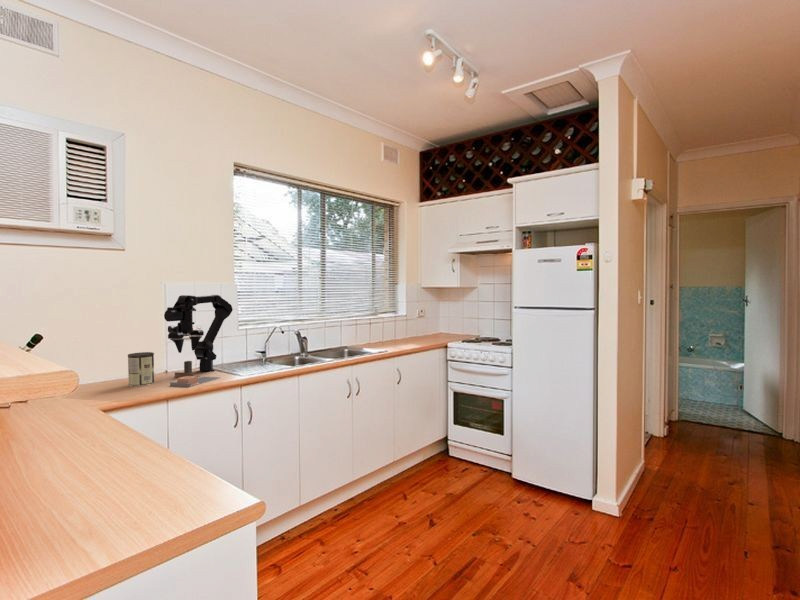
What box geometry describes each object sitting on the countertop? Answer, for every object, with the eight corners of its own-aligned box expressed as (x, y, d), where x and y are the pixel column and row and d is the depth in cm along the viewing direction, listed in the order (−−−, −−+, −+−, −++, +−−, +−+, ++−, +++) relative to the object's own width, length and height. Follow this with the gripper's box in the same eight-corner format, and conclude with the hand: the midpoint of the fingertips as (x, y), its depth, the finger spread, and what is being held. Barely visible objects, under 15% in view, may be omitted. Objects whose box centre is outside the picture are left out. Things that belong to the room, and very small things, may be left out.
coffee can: (138, 382, 208) (138, 351, 208) (159, 382, 207) (159, 352, 207) (122, 387, 198) (122, 355, 198) (144, 387, 197) (143, 355, 197)
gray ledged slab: (204, 377, 219) (203, 373, 219) (221, 378, 217) (221, 374, 217) (170, 386, 198) (170, 382, 198) (189, 387, 196) (189, 383, 195)
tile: (186, 382, 205) (186, 375, 205) (198, 383, 204) (197, 376, 204) (177, 385, 200) (177, 378, 200) (188, 385, 198) (188, 379, 198)
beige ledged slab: (183, 376, 224) (183, 360, 224) (200, 377, 221) (200, 360, 221) (174, 378, 218) (174, 361, 218) (192, 379, 216) (191, 362, 216)
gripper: (186, 319, 235) (186, 348, 236) (158, 321, 217) (158, 353, 218) (204, 319, 232) (204, 349, 233) (177, 321, 214) (178, 354, 215)
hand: (186, 351), depth 225 cm, fingers open, 9 cm apart
